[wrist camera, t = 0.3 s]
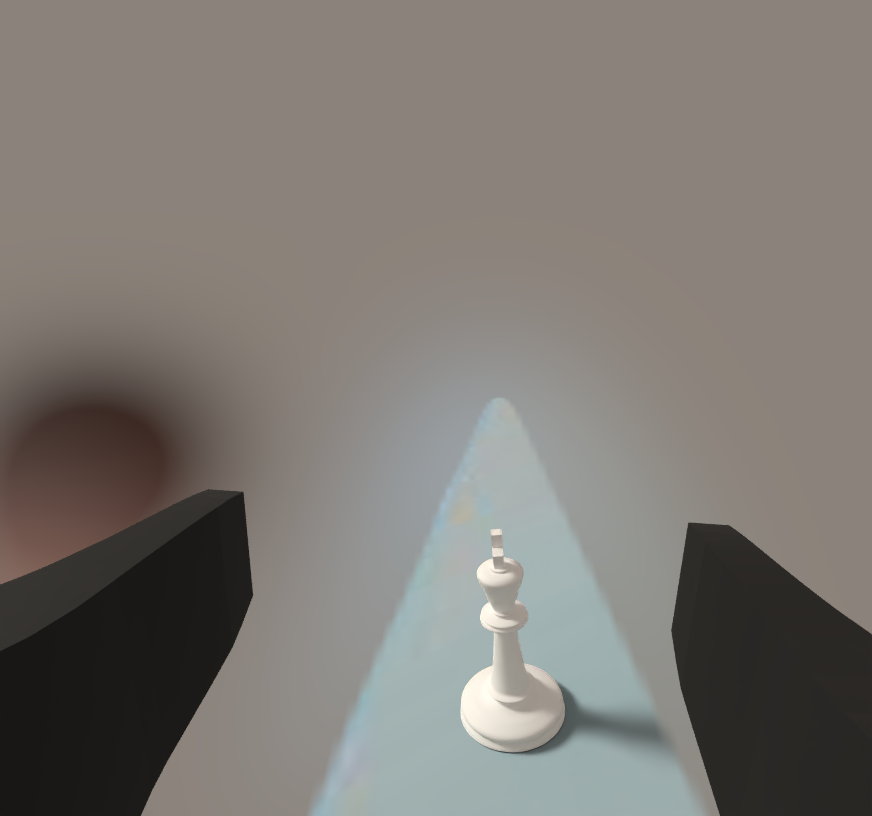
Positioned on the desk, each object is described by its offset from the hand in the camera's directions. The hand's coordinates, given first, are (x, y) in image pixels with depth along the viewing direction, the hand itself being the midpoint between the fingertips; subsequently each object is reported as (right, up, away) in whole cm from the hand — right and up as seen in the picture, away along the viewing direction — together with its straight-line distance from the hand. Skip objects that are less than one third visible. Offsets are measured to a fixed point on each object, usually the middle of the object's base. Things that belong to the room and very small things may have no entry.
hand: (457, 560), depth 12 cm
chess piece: (+3, -12, +23) cm, 26 cm away
